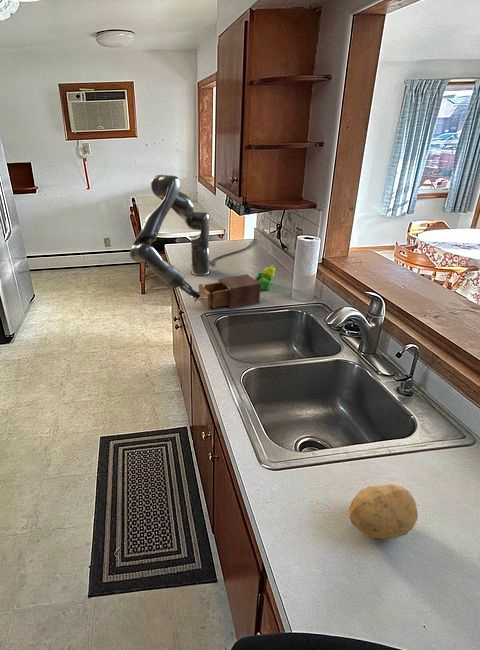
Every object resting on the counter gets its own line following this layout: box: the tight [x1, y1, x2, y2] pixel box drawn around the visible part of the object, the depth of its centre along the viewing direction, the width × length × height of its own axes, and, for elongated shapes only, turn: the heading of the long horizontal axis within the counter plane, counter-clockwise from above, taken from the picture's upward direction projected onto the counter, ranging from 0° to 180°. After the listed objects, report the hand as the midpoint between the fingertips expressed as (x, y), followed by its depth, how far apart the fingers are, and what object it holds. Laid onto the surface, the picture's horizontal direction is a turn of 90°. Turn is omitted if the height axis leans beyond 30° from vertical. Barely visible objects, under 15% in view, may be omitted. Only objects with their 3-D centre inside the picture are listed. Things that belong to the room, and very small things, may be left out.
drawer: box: [187, 281, 229, 311], centre depth 174 cm, size 19×11×8 cm, turn 108°
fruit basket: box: [254, 264, 276, 291], centre depth 190 cm, size 11×9×11 cm
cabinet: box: [218, 273, 261, 309], centre depth 178 cm, size 15×13×10 cm
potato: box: [348, 483, 419, 539], centre depth 78 cm, size 10×14×8 cm
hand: (198, 296), depth 172 cm, fingers closed
